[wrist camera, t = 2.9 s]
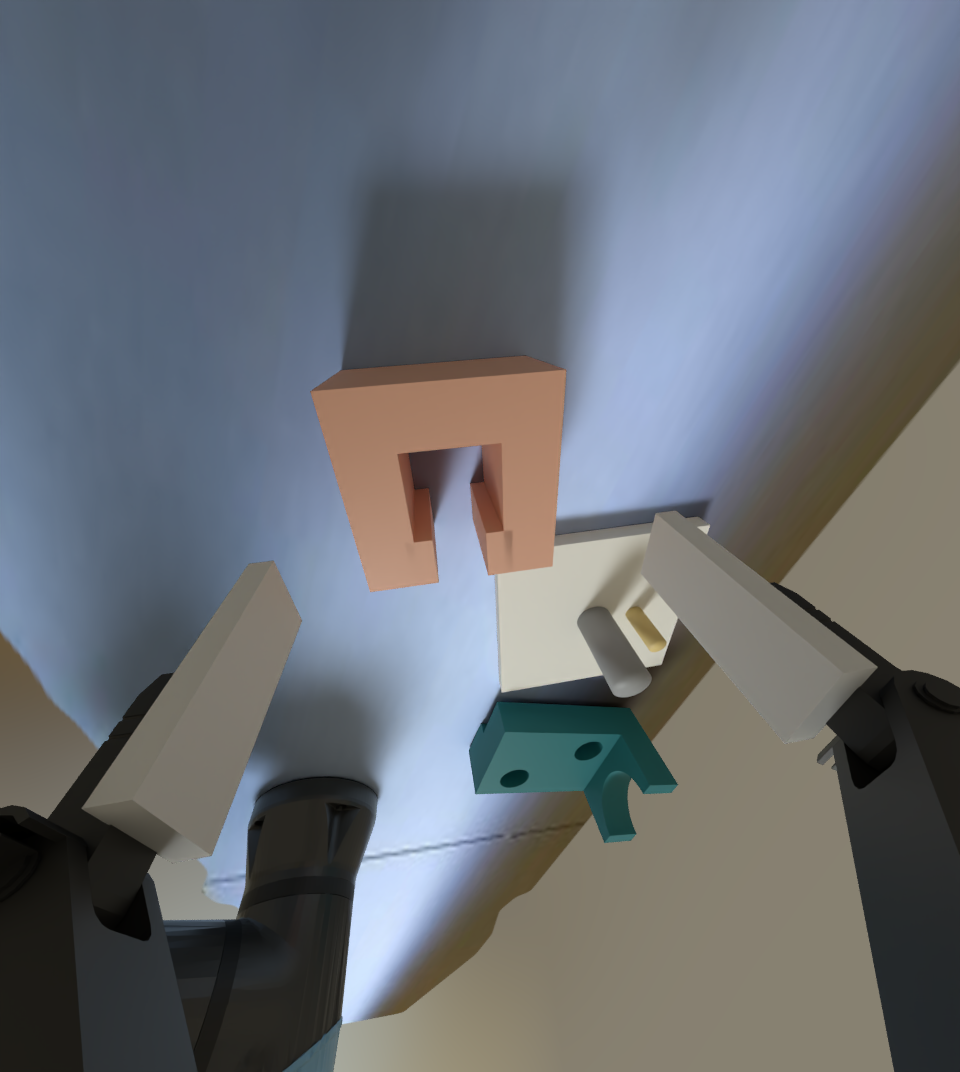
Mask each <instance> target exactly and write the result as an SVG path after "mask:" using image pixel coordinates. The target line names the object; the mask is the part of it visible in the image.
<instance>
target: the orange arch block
mask: <svg viewBox="0 0 960 1072" xmlns="http://www.w3.org/2000/svg"><path fill="white" fill-rule="evenodd" d="M565 383H566V369H563V368H560V367H557V366H554V365H551V364H549V363H546V362H543V361H540V360H537V359H534V358H531V357H528V356H513V357H500V358H488V359H475V360H462V361H450V362H437V363H425V364H412V365H399V366H387V367H374V368H362V369H349V370H341V371H339V372H338V373H336V374H335V375H333V376H332V377H331V378H329V379H328V380H326V381H325V382H323V383H322V384H320V385H319V386H317V387H316V388H315V389H313V390H312V391H310V392H311V395H312V398H313V402H314V405H315V408H316V412H317V415H318V418H319V422H320V425H321V429H322V432H323V435H324V439H325V442H326V445H327V449H328V452H329V455H330V459H331V462H332V465H333V469H334V472H335V475H336V479H337V482H338V486H339V489H340V492H341V496H342V499H343V502H344V506H345V509H346V512H347V516H348V519H349V522H350V526H351V529H352V532H353V536H354V539H355V542H356V546H357V549H358V553H359V556H360V559H361V563H362V566H363V569H364V573H365V576H366V579H367V583H368V586H369V589H370V592H375V591H382V590H389V589H396V588H403V587H410V586H417V585H424V584H431V583H438V582H439V579H438V567H437V554H436V542H435V530H434V520H433V514H432V507H431V500H430V493H429V488H425V489H416V490H415V489H414V483H413V477H412V471H411V465H410V459H409V454H408V453H411V452H421V451H430V450H440V449H449V448H459V447H469V446H478V445H482V459H483V478H484V482H477V483H470V488H471V501H472V514H473V521H474V525H475V529H476V532H477V536H478V539H479V543H480V547H481V550H482V554H483V558H484V561H485V565H486V568H487V572H488V575H495V574H502V573H509V572H516V571H523V570H530V569H538V568H545V567H552V566H553V553H554V539H555V525H556V511H557V496H558V482H559V468H560V454H561V440H562V426H563V411H564V397H565Z"/></svg>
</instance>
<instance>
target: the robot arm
mask: <svg viewBox="0 0 960 1072" xmlns="http://www.w3.org/2000/svg"><path fill="white" fill-rule="evenodd" d="M641 574H642V575H643V577H644V578H645V579H646V580H647V581H648V582H649V584H650V585H651V586H652V587H653V588H654V590H655V591H656V592H657V593H658V594H659V595H660V597H661V598H662V599H663V600H664V601H665V603H666V604H667V605H668V606H669V607H670V608H671V610H672V611H673V612H674V613H675V614H676V616H677V617H678V618H679V619H680V620H681V621H682V623H683V624H684V625H685V626H686V627H687V629H688V630H689V631H690V632H691V633H692V634H693V636H694V637H695V638H696V639H697V640H698V642H699V643H700V644H701V645H702V646H703V647H704V649H705V650H706V651H707V652H708V653H709V655H710V656H711V657H712V658H713V659H714V660H715V662H716V663H717V664H718V665H719V666H720V668H721V669H722V670H723V671H724V672H725V673H726V675H727V676H728V677H729V678H730V679H731V681H732V682H733V683H734V684H735V685H736V686H737V688H738V689H739V690H740V691H741V692H742V694H743V695H744V696H745V697H746V698H747V699H748V701H749V702H750V703H751V704H752V705H753V707H754V708H755V709H756V710H757V711H758V712H759V714H760V715H761V716H762V717H763V718H764V720H765V721H766V722H767V723H768V724H769V725H770V727H771V728H772V729H773V730H774V731H775V733H776V734H777V735H778V736H779V737H780V738H781V740H782V741H783V742H784V743H785V744H787V743H792V742H797V741H803V740H807V739H813V738H814V737H815V736H816V735H817V734H818V733H819V732H820V731H821V730H822V728H823V727H824V726H825V725H826V724H827V725H828V726H829V727H830V728H831V729H832V730H833V731H834V732H835V733H836V734H837V736H836V737H835V738H834V739H833V740H832V741H831V742H830V743H829V744H828V745H827V746H826V747H825V748H824V749H823V750H822V751H821V752H820V753H819V754H818V758H817V763H819V764H822V765H823V764H824V763H825V762H826V761H827V760H828V759H829V758H830V757H831V756H832V755H834V758H835V764H834V765H833V766H832V769H834V770H836V771H837V773H838V779H839V784H840V789H841V794H842V800H843V805H844V810H845V816H846V820H847V825H848V831H849V836H850V842H851V847H852V852H853V858H854V863H855V868H856V873H857V879H858V884H859V889H860V894H861V900H862V905H863V910H864V915H865V921H866V925H867V931H868V936H869V942H870V947H871V952H872V957H873V963H874V968H875V973H876V978H877V984H878V988H879V994H880V999H881V1004H882V1009H883V1015H884V1020H885V1025H886V1031H887V1036H888V1041H889V1047H890V1051H891V1057H892V1062H893V1067H894V1072H960V688H959V687H957V686H955V685H954V684H952V683H950V682H948V681H946V680H944V679H941V678H939V677H936V676H933V675H930V674H928V673H923V672H918V671H914V670H908V671H901V670H900V669H898V668H896V667H895V666H894V665H892V664H891V663H889V662H888V661H887V660H886V659H884V658H883V657H882V656H880V655H879V654H877V653H876V652H875V651H873V650H872V649H871V648H870V647H868V646H867V645H865V644H864V643H863V642H861V641H860V640H859V639H857V638H856V637H855V636H853V635H852V634H851V633H849V632H848V631H847V630H845V629H844V628H843V627H841V626H840V625H838V624H837V623H836V622H832V621H831V620H830V618H829V617H828V616H826V615H825V614H824V613H823V612H821V611H820V610H816V609H815V607H814V606H813V605H812V604H810V603H809V602H808V601H806V600H805V599H804V598H802V597H801V596H800V595H798V594H797V593H795V592H793V591H791V590H789V589H787V588H785V587H783V586H781V585H779V584H777V583H775V582H774V583H769V582H767V581H766V580H765V579H763V578H762V577H761V576H760V575H758V574H757V573H756V572H754V571H753V570H752V569H751V568H749V567H748V566H747V565H745V564H744V563H743V562H741V561H740V560H739V559H738V558H736V557H735V556H734V555H732V554H731V553H730V552H729V551H727V550H726V549H725V548H723V547H722V546H721V545H720V544H718V543H717V542H716V541H714V540H713V539H712V538H710V537H709V536H708V535H707V534H705V533H704V532H703V531H701V530H700V529H699V528H698V527H696V526H695V525H694V524H692V523H691V522H690V521H689V520H687V519H686V518H685V517H683V516H682V515H681V514H679V513H678V512H677V511H669V512H661V513H656V514H655V518H654V522H653V526H652V530H651V534H650V538H649V542H648V546H647V550H646V554H645V558H644V561H643V565H642V569H641ZM301 622H302V620H301V617H300V615H299V613H298V611H297V609H296V607H295V605H294V603H293V601H292V599H291V596H290V594H289V592H288V590H287V588H286V586H285V584H284V582H283V580H282V577H281V575H280V573H279V571H278V569H277V567H276V565H275V563H274V561H268V562H260V563H252V564H248V566H247V567H246V569H245V570H244V572H243V573H242V575H241V576H240V577H239V579H238V580H237V582H236V583H235V585H234V586H233V588H232V589H231V591H230V592H229V594H228V595H227V597H226V598H225V599H224V601H223V602H222V604H221V605H220V607H219V608H218V610H217V611H216V613H215V614H214V616H213V617H212V618H211V620H210V621H209V623H208V624H207V626H206V627H205V629H204V630H203V632H202V633H201V635H200V636H199V637H198V639H197V640H196V642H195V643H194V645H193V646H192V648H191V649H190V651H189V652H188V654H187V655H186V657H185V658H184V659H183V661H182V662H181V664H180V665H179V667H178V668H177V670H176V671H175V673H169V674H163V675H161V676H160V677H159V678H157V679H156V680H155V681H154V682H153V683H152V684H151V685H150V686H148V687H147V688H146V689H145V690H144V691H143V692H142V693H140V694H139V696H138V697H137V698H136V700H135V701H134V702H133V704H132V705H131V706H130V708H129V709H128V710H127V712H126V713H125V715H124V716H123V720H122V721H121V722H119V723H118V724H117V725H116V727H115V728H114V729H113V731H112V732H111V734H110V735H109V739H108V741H105V742H104V743H103V744H102V746H101V747H100V748H99V750H98V751H97V753H96V754H95V755H94V757H93V758H92V759H91V761H90V762H89V764H88V765H87V766H86V767H85V769H84V770H83V772H82V773H81V774H80V776H79V777H78V779H77V780H76V781H75V783H74V784H73V785H72V787H71V788H70V789H69V791H68V792H67V793H66V795H65V796H64V798H63V799H62V800H61V802H60V803H59V804H58V805H57V807H56V808H55V810H54V811H53V812H52V814H51V815H50V816H49V818H48V819H46V818H44V817H41V816H40V815H38V814H36V813H34V812H33V811H31V810H29V809H27V808H25V807H20V806H13V805H11V806H7V807H4V808H0V1072H333V1070H334V1064H335V1057H336V1051H337V1044H338V1037H339V1031H340V1027H341V1025H342V1016H341V1014H342V1004H343V995H344V985H345V975H346V966H347V956H348V946H349V937H350V927H351V917H352V908H353V897H354V889H355V881H356V876H357V873H358V870H359V867H360V865H361V862H362V859H363V856H364V853H365V850H366V847H367V844H368V842H369V839H370V836H371V833H372V830H373V827H374V824H375V820H376V812H377V796H376V794H375V793H374V792H373V791H372V790H371V789H370V788H369V787H367V786H365V785H363V784H361V783H358V782H355V781H351V780H346V779H338V778H312V779H304V780H298V781H294V782H290V783H286V784H283V785H280V786H278V787H275V788H273V789H271V790H269V791H268V792H266V793H265V794H263V795H262V796H261V797H260V798H259V799H258V800H257V802H256V804H255V806H254V809H253V812H252V815H251V818H250V821H249V825H248V836H247V859H246V883H245V890H244V894H243V898H242V901H241V904H240V908H239V911H238V915H237V918H236V920H163V919H162V915H161V910H160V906H159V901H158V897H157V893H156V888H155V884H154V881H153V880H152V878H151V877H150V875H149V873H147V872H148V870H149V868H150V866H151V864H152V862H153V860H154V858H155V856H156V854H157V855H159V856H161V857H162V858H164V859H166V860H167V861H169V862H171V863H177V862H182V861H188V860H193V859H198V858H203V857H208V856H212V854H213V851H214V848H215V846H216V843H217V841H218V838H219V835H220V833H221V830H222V828H223V825H224V822H225V820H226V817H227V815H228V812H229V809H230V807H231V804H232V802H233V799H234V796H235V794H236V791H237V789H238V786H239V783H240V781H241V778H242V776H243V773H244V770H245V768H246V765H247V763H248V760H249V757H250V755H251V752H252V750H253V747H254V744H255V742H256V739H257V737H258V734H259V731H260V729H261V726H262V724H263V721H264V718H265V716H266V713H267V710H268V708H269V705H270V703H271V700H272V697H273V695H274V692H275V690H276V687H277V684H278V682H279V679H280V677H281V674H282V671H283V669H284V666H285V664H286V661H287V658H288V656H289V653H290V651H291V648H292V645H293V643H294V640H295V638H296V635H297V632H298V630H299V627H300V625H301Z"/></svg>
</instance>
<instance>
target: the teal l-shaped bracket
mask: <svg viewBox="0 0 960 1072" xmlns="http://www.w3.org/2000/svg"><path fill="white" fill-rule="evenodd" d="M469 755H470V761H471V768H472V774H473V781H474V787H475V794H494V793H525V792H556V791H584V793H585V796H586V798H587V801H588V803H589V806H590V808H591V811H592V813H593V816H594V818H595V820H596V823H597V825H598V828H599V830H600V833H601V835H602V837H603V840H604V843H608V842H620V841H631V840H632V838H633V837H634V836H635V835H636V832H635V830H634V827H633V825H632V821H631V818H630V814H629V809H628V800H627V793H628V785H629V782H630V780H631V778H632V779H633V780H634V781H635V782H636V783H637V785H638V786H639V787H640V789H641V790H642V792H643V794H654V793H671V792H672V791H673V790H674V789H675V788H676V786H677V785H678V784H677V783H676V781H675V779H674V778H673V776H672V774H671V773H670V771H669V770H668V768H667V767H666V765H665V763H664V762H663V760H662V758H661V757H660V755H659V754H658V752H657V751H656V749H655V748H654V746H653V744H652V743H651V741H650V739H649V738H648V736H647V735H646V733H645V732H644V730H643V728H642V727H641V725H640V724H639V722H638V720H637V719H636V717H635V716H634V714H633V713H632V711H631V709H630V708H618V707H597V706H577V705H556V704H535V703H515V702H497V703H496V706H495V708H494V710H493V712H492V715H491V717H490V719H489V722H488V723H481V725H480V727H479V729H478V731H477V733H476V735H475V737H474V740H473V742H472V744H471V747H470V749H469Z"/></svg>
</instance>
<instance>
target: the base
mask: <svg viewBox="0 0 960 1072" xmlns="http://www.w3.org/2000/svg"><path fill="white" fill-rule="evenodd" d="M686 519H687V520H689V521H690V522H691V523H692V524H694V525H695V526H696V527H698V528H699V529H700V530H701V531H703V532H704V533H705V534H707V533H708V530H709V527H710V525H709V524H708V523H706V522H705V521H703V520H702V519H701V518H699V517H690V518H686ZM652 526H653V523H645V524H638V525H630V526H622V527H615V528H607V529H600V530H592V531H585V532H577V533H570V534H562V535H555V539H554V553H553V566H552V567H545V568H538V569H530V570H523V571H516V572H509V573H502V574H495V597H496V621H497V644H498V667H499V682H500V687H501V691H502V693H503V692H509V691H515V690H520V689H526V688H532V687H538V686H543V685H549V684H555V683H560V682H566V681H572V680H577V679H583V678H589V677H595V676H600V675H603V676H604V677H605V679H606V681H607V683H608V685H609V687H610V689H611V691H612V693H613V694H614V695H615V696H617V697H630V696H633V695H636V694H638V693H640V692H642V691H643V690H645V689H646V688H647V687H648V686H649V684H650V683H651V680H652V677H651V675H650V673H649V672H648V670H647V669H646V667H652V666H657V665H662V662H663V659H664V656H665V653H666V650H667V647H668V644H669V642H670V639H671V636H672V633H673V630H674V627H675V624H676V621H677V619H678V617H677V616H676V614H675V613H674V612H673V611H672V610H671V608H670V607H669V606H668V605H667V604H666V603H665V601H664V600H663V599H662V598H661V597H660V595H659V594H658V593H657V592H656V591H655V590H654V588H653V587H652V586H651V585H650V584H649V582H648V581H647V580H646V579H645V578H644V577H643V575H642V574H641V569H642V565H643V561H644V558H645V554H646V550H647V546H648V542H649V538H650V534H651V530H652Z"/></svg>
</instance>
